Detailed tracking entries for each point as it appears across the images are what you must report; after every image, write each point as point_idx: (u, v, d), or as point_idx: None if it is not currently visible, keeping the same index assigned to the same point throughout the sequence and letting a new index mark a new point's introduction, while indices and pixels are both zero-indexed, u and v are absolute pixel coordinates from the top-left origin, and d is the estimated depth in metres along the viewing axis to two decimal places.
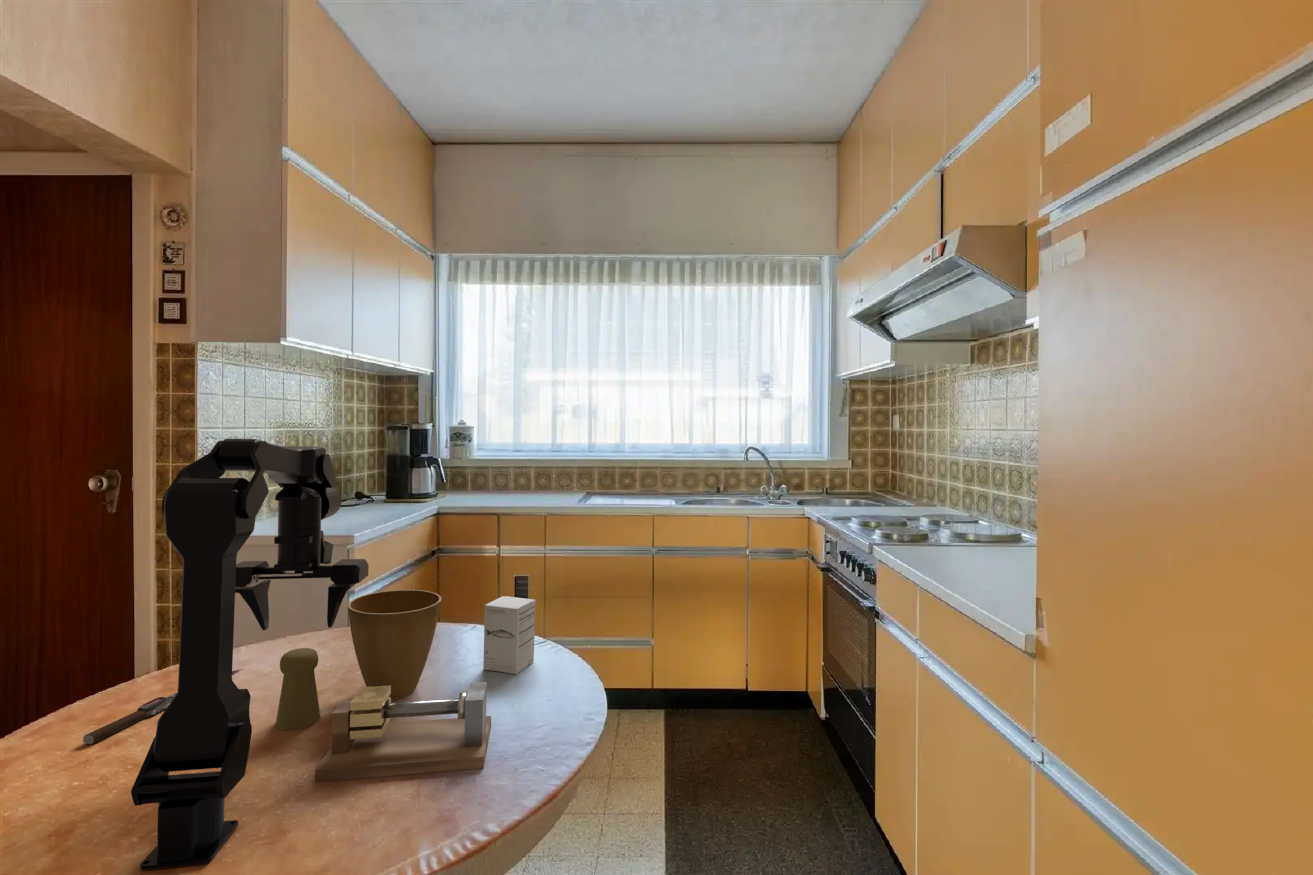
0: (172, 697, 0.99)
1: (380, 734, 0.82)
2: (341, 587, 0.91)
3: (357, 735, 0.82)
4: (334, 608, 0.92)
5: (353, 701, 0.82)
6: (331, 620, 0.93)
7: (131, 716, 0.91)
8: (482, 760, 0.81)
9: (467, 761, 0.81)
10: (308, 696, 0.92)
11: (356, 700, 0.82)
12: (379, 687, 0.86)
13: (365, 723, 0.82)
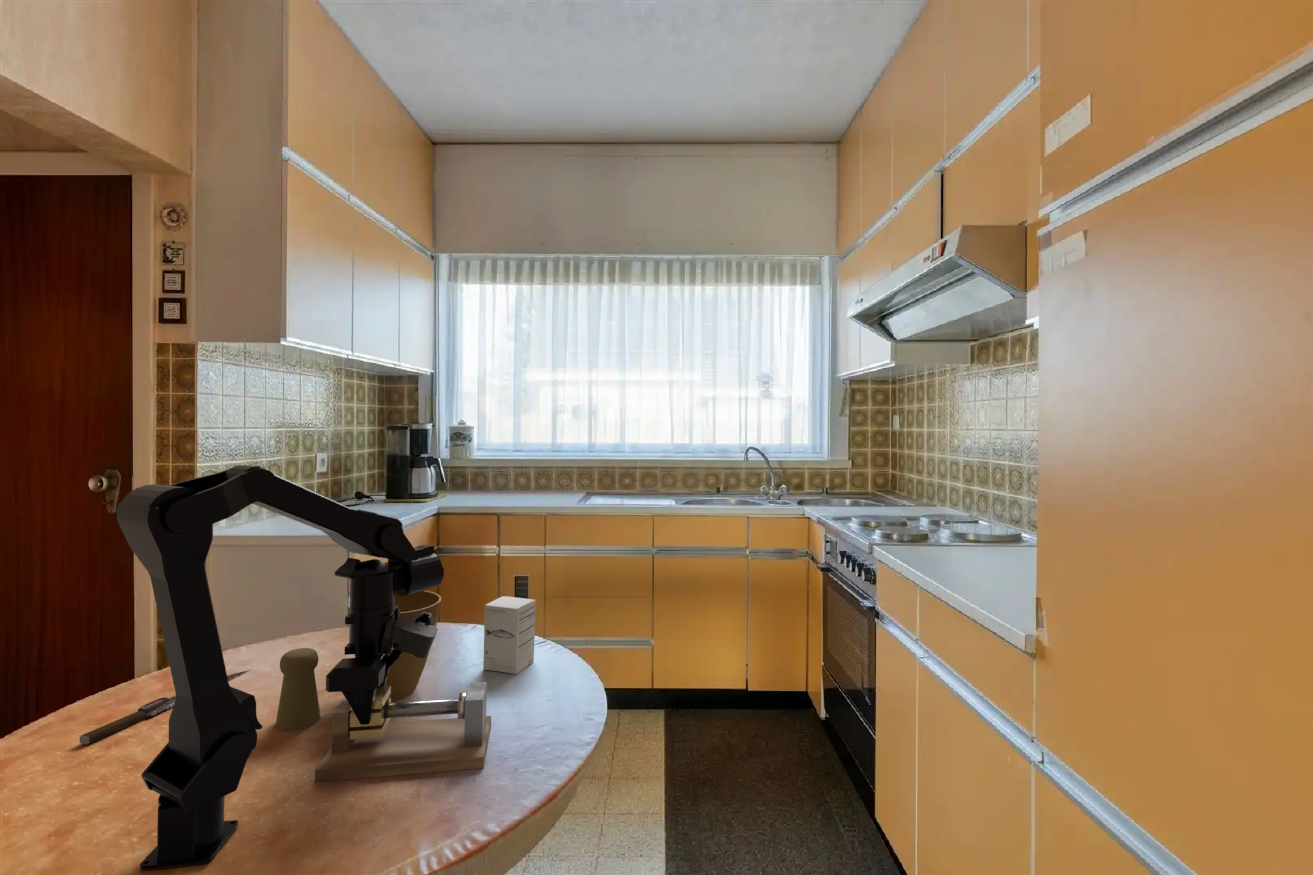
0: (175, 698, 0.99)
1: (380, 734, 0.82)
2: None
3: (357, 735, 0.82)
4: (350, 704, 0.80)
5: None
6: (356, 716, 0.81)
7: (130, 717, 0.91)
8: (482, 760, 0.81)
9: (467, 761, 0.81)
10: (308, 696, 0.92)
11: None
12: (379, 687, 0.86)
13: None
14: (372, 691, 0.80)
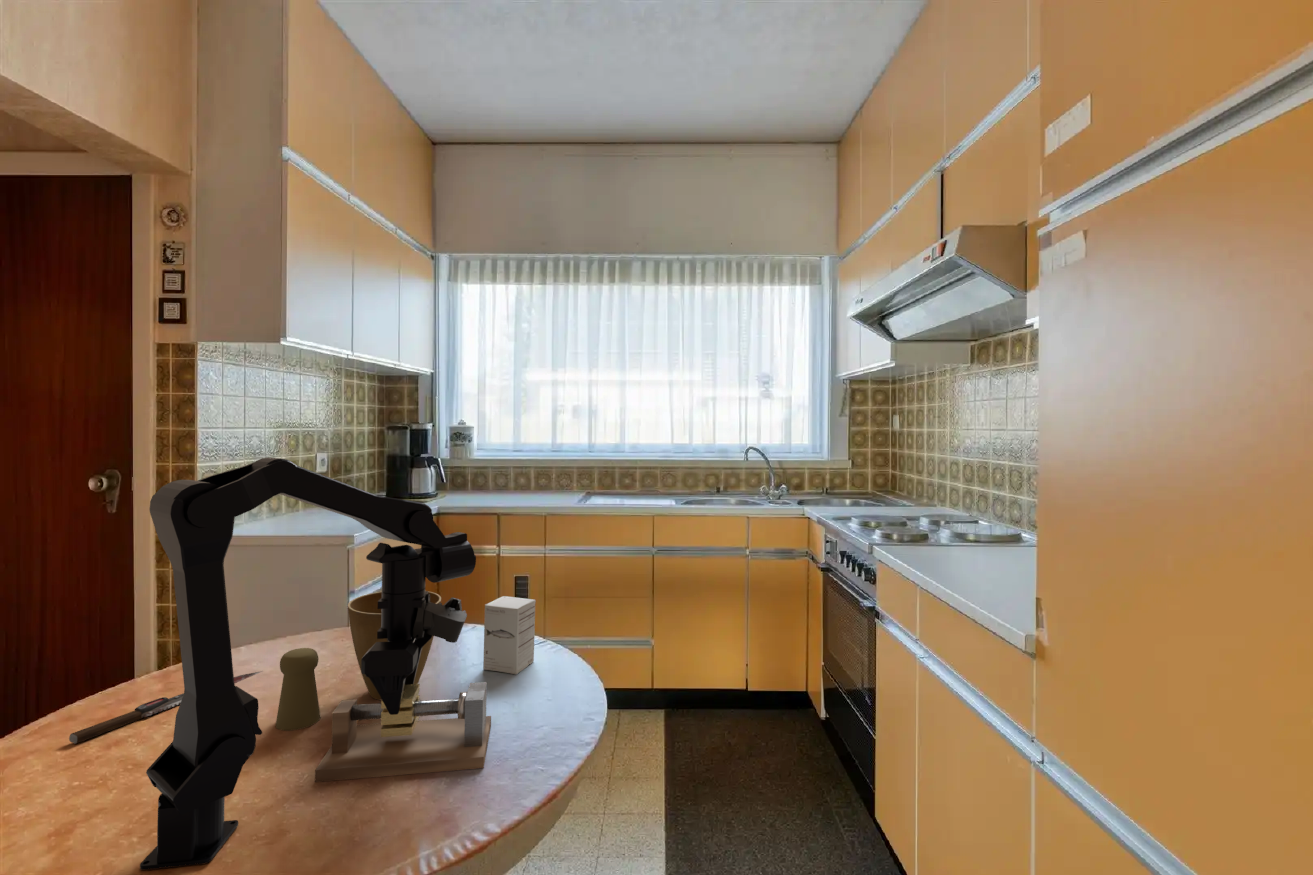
0: (175, 698, 0.99)
1: (411, 732, 0.83)
2: None
3: (388, 733, 0.82)
4: (379, 693, 0.79)
5: None
6: (386, 706, 0.80)
7: (124, 716, 0.91)
8: (482, 760, 0.81)
9: (467, 761, 0.81)
10: (308, 696, 0.92)
11: None
12: (408, 686, 0.87)
13: (396, 721, 0.82)
14: (402, 680, 0.79)
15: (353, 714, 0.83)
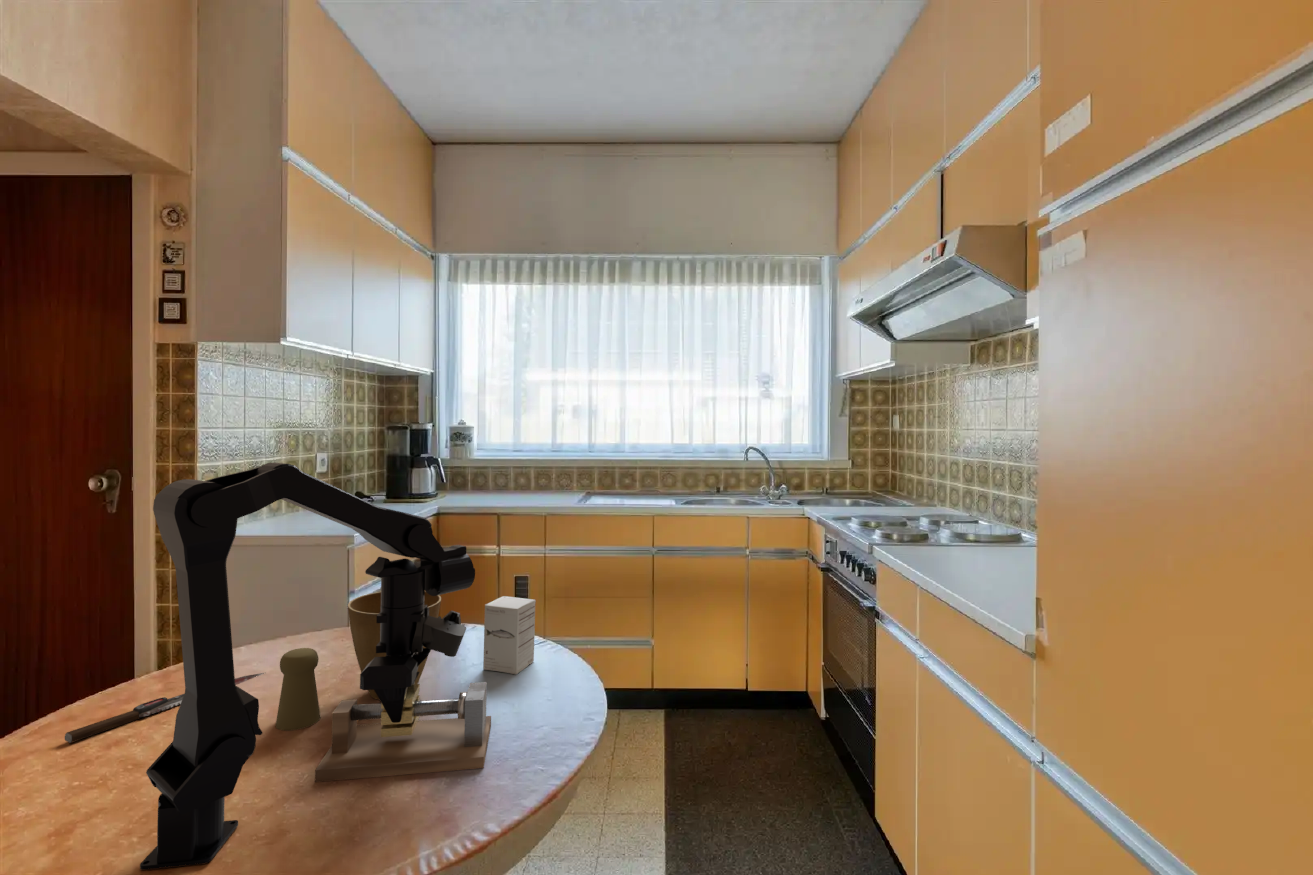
0: (175, 698, 0.99)
1: (411, 732, 0.83)
2: None
3: (388, 733, 0.82)
4: (381, 702, 0.81)
5: None
6: (388, 714, 0.82)
7: (121, 716, 0.91)
8: (482, 760, 0.81)
9: (467, 761, 0.81)
10: (308, 696, 0.92)
11: None
12: None
13: None
14: (404, 689, 0.81)
15: (353, 714, 0.83)
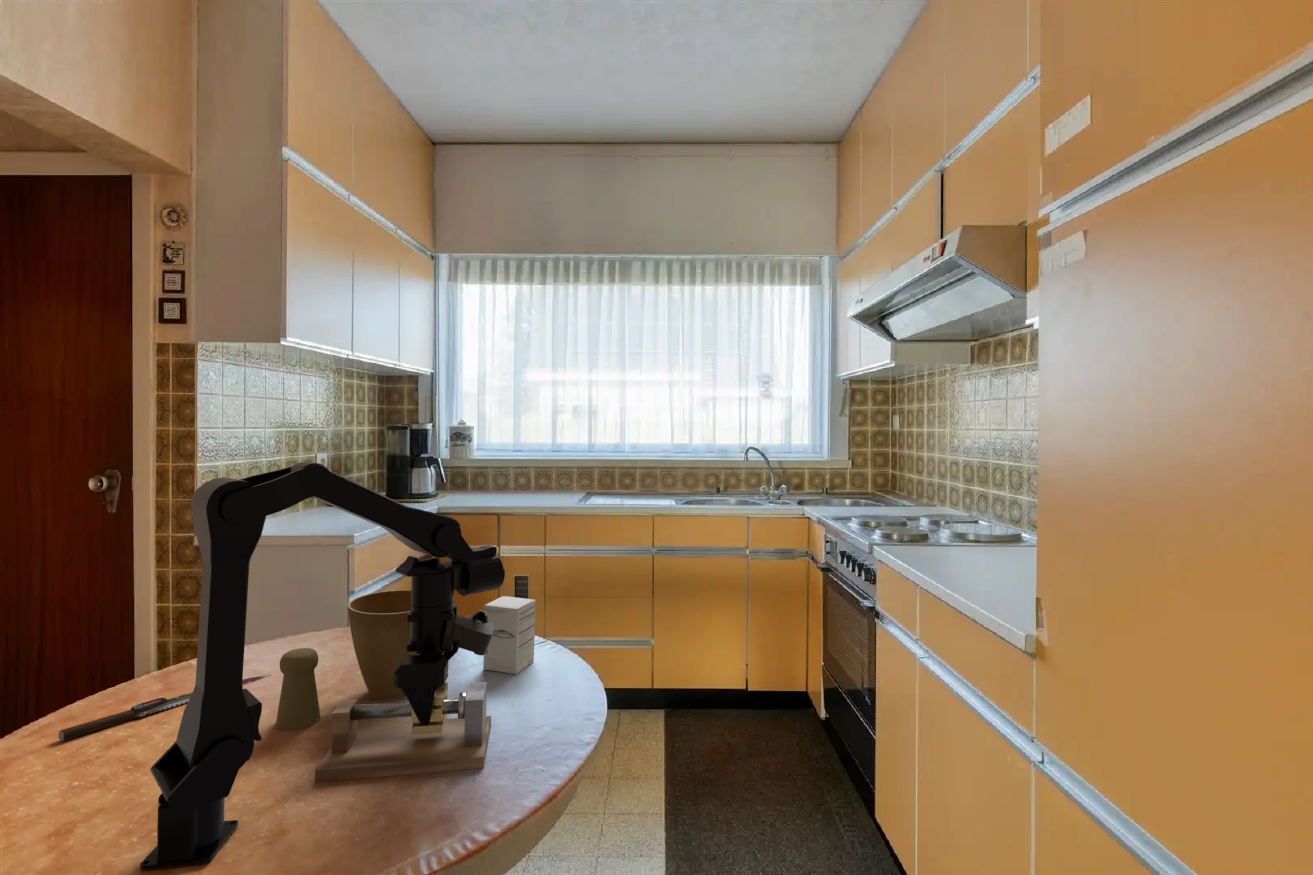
0: (175, 699, 0.98)
1: (441, 730, 0.84)
2: None
3: (418, 731, 0.83)
4: (411, 704, 0.80)
5: None
6: (417, 717, 0.81)
7: (116, 716, 0.91)
8: (482, 760, 0.81)
9: (467, 761, 0.81)
10: (308, 696, 0.92)
11: None
12: None
13: None
14: (433, 691, 0.80)
15: (353, 714, 0.83)
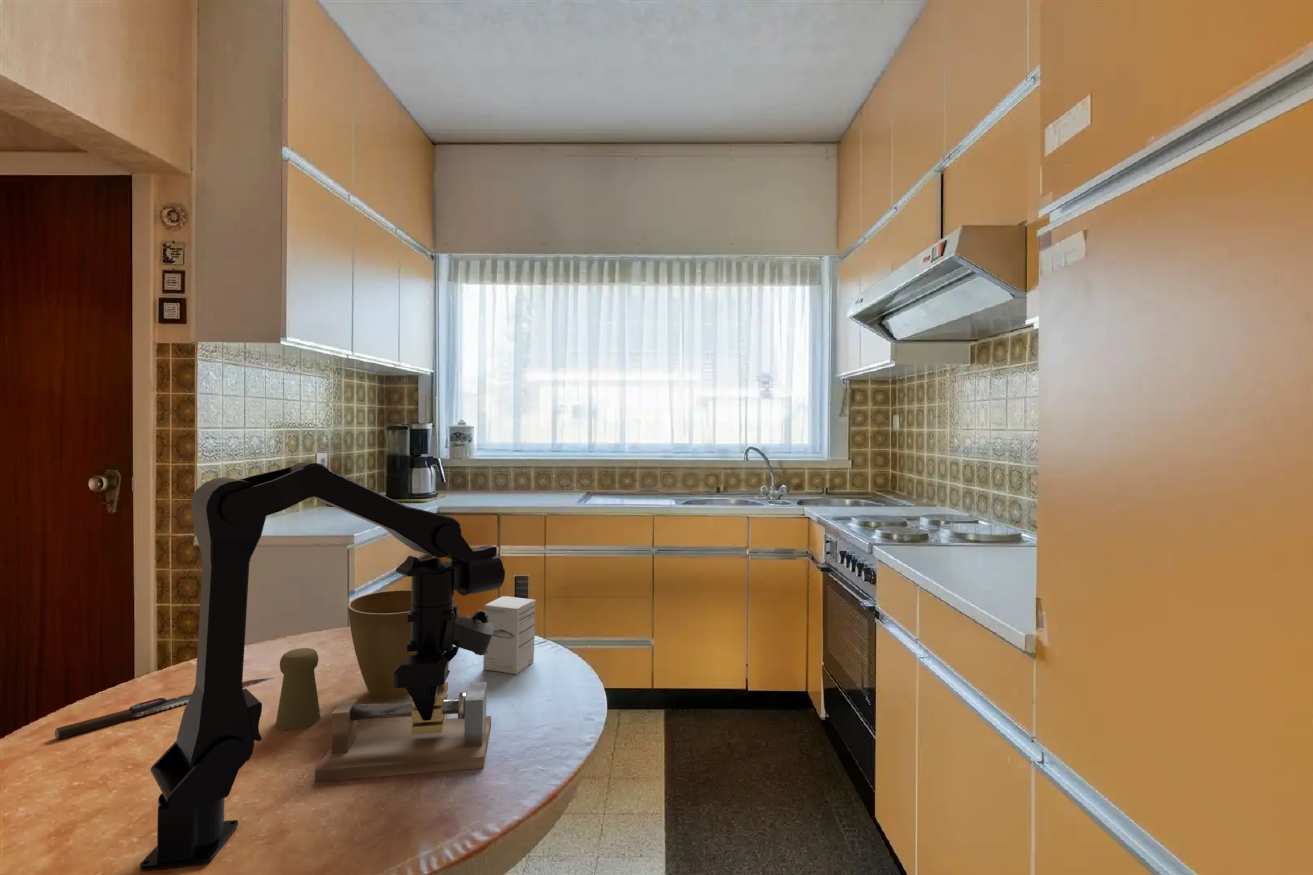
0: (175, 699, 0.98)
1: (441, 730, 0.84)
2: None
3: (418, 731, 0.83)
4: (413, 700, 0.82)
5: None
6: (419, 712, 0.82)
7: (113, 715, 0.92)
8: (482, 760, 0.81)
9: (467, 761, 0.81)
10: (308, 696, 0.92)
11: None
12: None
13: None
14: (435, 687, 0.81)
15: (353, 714, 0.83)
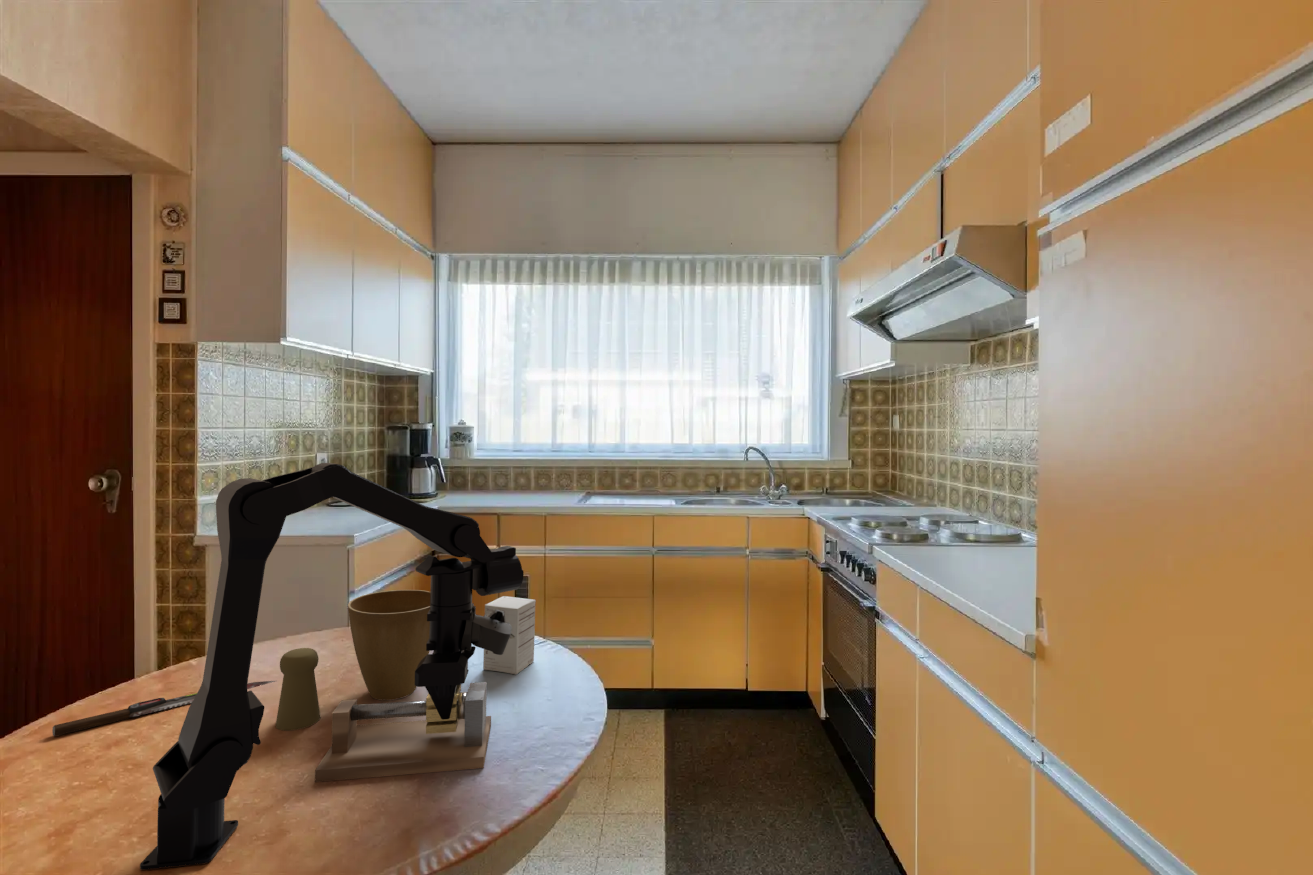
0: (174, 700, 0.98)
1: (455, 729, 0.84)
2: None
3: (433, 730, 0.83)
4: (432, 698, 0.82)
5: (429, 696, 0.84)
6: (438, 711, 0.83)
7: (111, 714, 0.92)
8: (482, 760, 0.81)
9: (467, 761, 0.81)
10: (308, 696, 0.92)
11: None
12: None
13: (440, 718, 0.84)
14: (454, 686, 0.82)
15: (353, 714, 0.83)
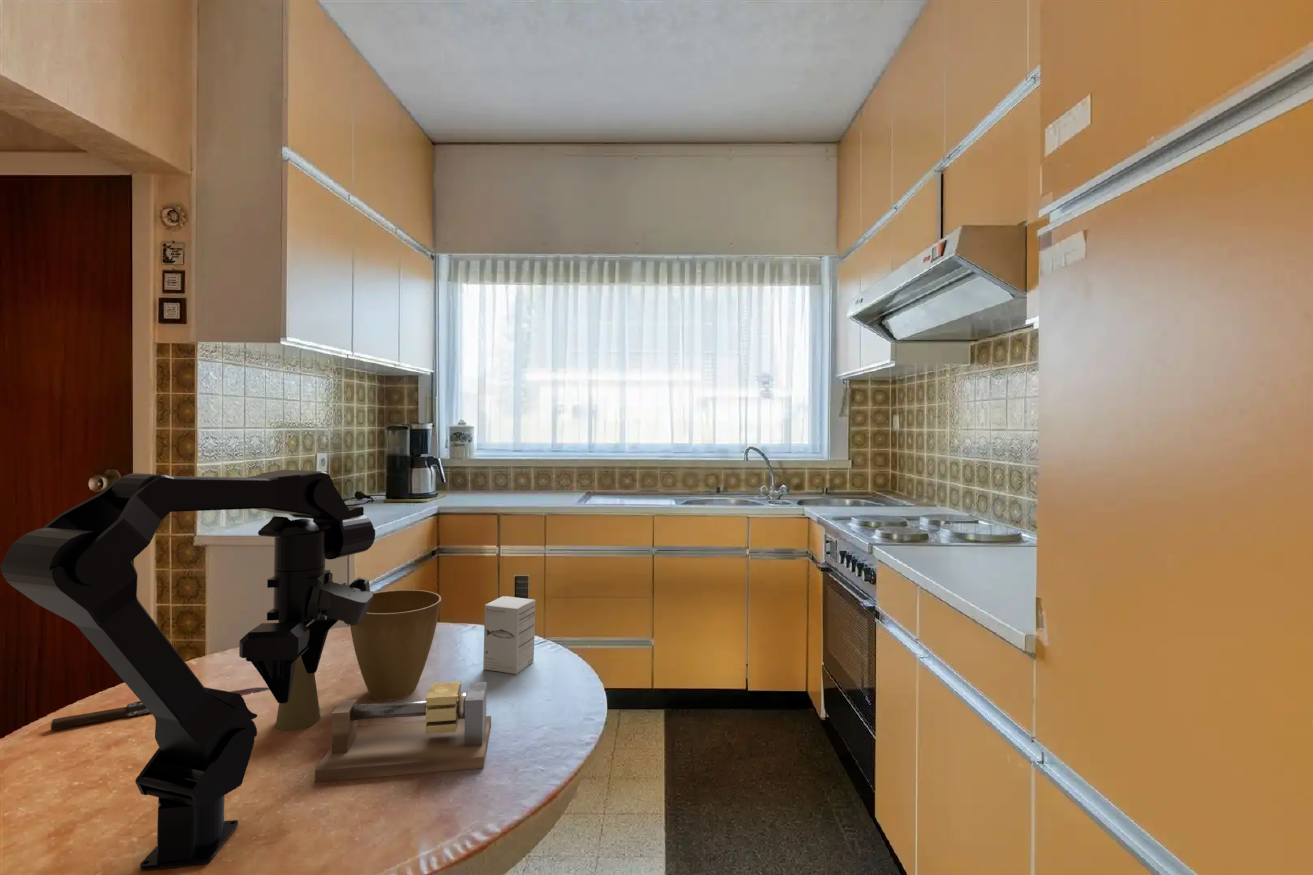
0: None
1: (454, 729, 0.84)
2: None
3: (432, 730, 0.83)
4: (264, 679, 0.72)
5: (428, 696, 0.84)
6: (273, 694, 0.73)
7: (108, 712, 0.93)
8: (482, 760, 0.81)
9: (467, 761, 0.81)
10: (308, 696, 0.92)
11: (431, 695, 0.84)
12: (450, 683, 0.88)
13: (440, 718, 0.84)
14: (289, 665, 0.72)
15: (353, 714, 0.83)
